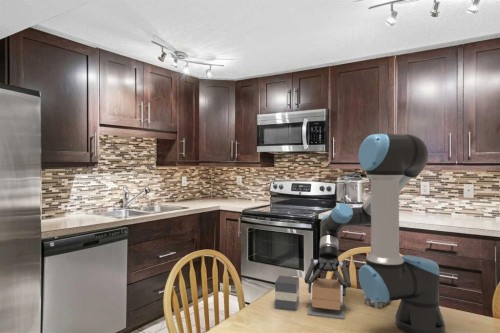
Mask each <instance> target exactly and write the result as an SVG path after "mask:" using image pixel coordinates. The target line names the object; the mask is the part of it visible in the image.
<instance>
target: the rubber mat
mask: <svg viewBox="0 0 500 333" xmlns="http://www.w3.org/2000/svg"><path fill="white" fill-rule="evenodd" d="M345 314H346V303H343V305H342V306H340V310H334V309H325V308H317V307H312V302H311V301H310V303H309V307H308V310H307V316H313V317H321V318H329V319H337V320H345V319H346V318H345V317H346V315H345Z"/></svg>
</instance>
